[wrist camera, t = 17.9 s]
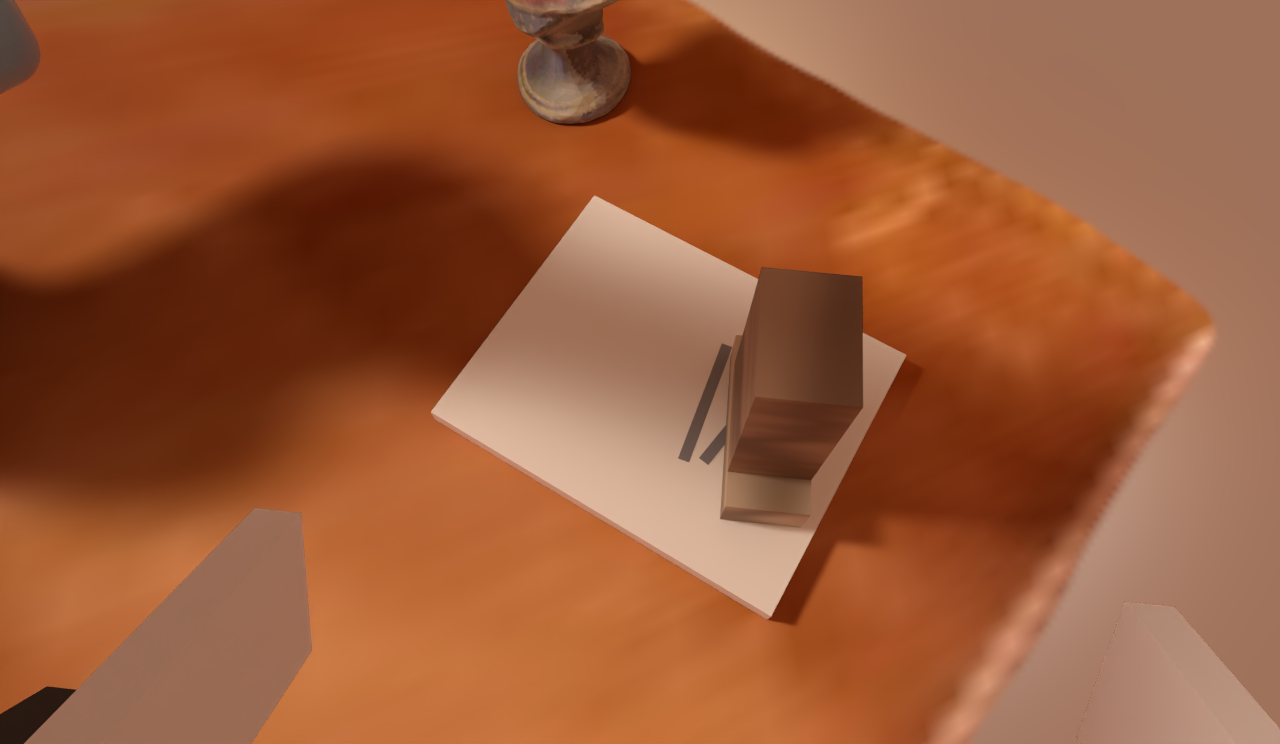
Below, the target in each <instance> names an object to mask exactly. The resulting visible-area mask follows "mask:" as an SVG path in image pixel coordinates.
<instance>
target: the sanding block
mask: <svg viewBox="0 0 1280 744" xmlns="http://www.w3.org/2000/svg"><path fill="white" fill-rule="evenodd" d="M862 408H863V298H862V277H860V276H850V275H839V274H829V273H818V272H808V271H797V270H786V269H776V268H765V267H762V268H761V272H760V275H759V279H758V282H757V286H756V289H755V293H754V296H753V300H752V303H751V307H750V311H749V314H748V318H747V321H746V325H745V328H744V332H743V335H742V336H741V335H736V337H735V341H734V344H733V348H732V352H731V356H730V372H729V387H728V402H727V418H726V433H725V449H724V464H723V479H722V495H721V510H720V519H724V520H734V521H743V522H753V523H762V524H772V525H782V526H791V527H801V526H802V525H803V524H804V523H805V521H806V520H807V519H808V518H809V517H810V515H811V480H812V479H813V477H814V476H815V474H816V473H817V472H818V470H819V469H820V467H821V466H822V465H823V463H824V462H825V460H826V459H827V458H828V456H829V455H830V453H831V452H832V451H833V449H834V448H835V446H836V445H837V443H838V442H839V441H840V439H841V438H842V436H843V435H844V434H845V432H846V431H847V429H848V428H849V427H850V425H851V424H852V422H853V421H854V420H855V418H856V417H857V415H858V414H859V413H860V411H861V410H862Z"/></svg>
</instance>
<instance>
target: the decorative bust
mask: <svg viewBox="0 0 1280 744" xmlns="http://www.w3.org/2000/svg"><path fill="white" fill-rule="evenodd" d="M505 1H506V4H507V7H508V10H509V13H510V16H511V17H512V19H513V21H514V23H515V25H516V27H517V28H518V29H519V30H521V31H522V32H524V33H525V34H528V35H530V36H532V37H536V38H537V40H535V41H534V42H533V43H531V44H530V46H529V47H528V48H527V49H526V50H525V52H524V53H523V54H522V56H521V58H520V61H519V65H518V70H517V81H518V86H519V90H520V93H521V95H522V97H523V100H524V101H525V102H526V104H527V105H528V106H529V107H530V109H531V110H532V111H533V112H534V113H535V114H537V115H538V116H540V117H542V118H544V119H546V120H548V121H551V122H553V123H569V124H572V123H585V122H589V121H591V120H594V119H596V118H599V117H602V116H604V115H606V114H608V113H609V112H610V111H611V110H612V109H613V108H614V107H615V106H616V105H617V104H618V103H619V102H620V101H621V99H622V98H623V96H624V95H625V93H626V91H627V88H628V85H629V82H630V77H631V69H630V61H629V57H628V55H627V53H626V52H625V51H624V49H623V48H622V47H621V45H620V44H619V43H617V42H616V41H614V40H613V39H611V38H609V37H607V36H604V35H601V34H602V33H603V31H604V24H603V20H602V18H603V8H605V7H607V6H610V5H611V4H613V3H615V2H617V1H618V0H505Z"/></svg>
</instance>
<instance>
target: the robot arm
mask: <svg viewBox="0 0 1280 744" xmlns="http://www.w3.org/2000/svg"><path fill="white" fill-rule="evenodd" d="M39 62H40V48H39V45H38V42H37V39H36V37H35V35H34V33H33V32H32V30H31V28H30V26H29V24H28V23H27V21H26V19H25V18H24V16H23V14H22V13H21V11H20V9H19V8H18V6H17V4H16V3H15V1H14V0H0V94H2V93H4V92H6V91H7V90H9V89H11V88H13V87H15V86H17V85H19V84H21V83H23V82H25V81H26V80H28V79H29V78H30V77H31V76H32V75H33V74H34V73H35V71H36V70H37V68H38V65H39ZM311 651H312V644H311V631H310V618H309V605H308V592H307V579H306V567H305V554H304V541H303V528H302V515H301V513H298V512H289V511H279V510H270V509H261V508H254V509H253V510H252V511H251V512H250V513H249V514H248V515H247V516H246V517H245V518H244V519H243V521H242V522H241V523H240V524H239V525H238V526H237V527H236V528H235V529H234V530H233V531H232V532H231V533H230V534H229V535H228V536H227V537H226V538H225V539H224V540H223V541H222V542H221V543H220V544H219V545H218V546H217V547H216V548H215V549H214V550H213V551H212V552H211V553H210V554H209V555H208V556H207V557H206V558H205V559H204V560H203V561H202V562H201V563H200V564H199V565H198V566H197V567H196V568H195V570H194V571H193V572H192V573H191V574H190V575H189V576H188V577H187V578H186V579H185V580H184V581H183V582H182V583H181V584H180V585H179V586H178V587H177V588H176V589H175V590H174V591H173V592H172V593H171V594H170V595H169V596H168V597H167V598H166V599H165V600H164V601H163V602H162V603H161V604H160V605H159V606H158V607H157V608H156V609H155V610H154V611H153V612H152V613H151V614H150V615H149V616H148V618H147V619H146V620H145V621H144V622H143V623H142V624H141V625H140V626H139V627H138V628H137V629H136V630H135V631H134V632H133V633H132V634H131V635H130V636H129V637H128V638H127V639H126V640H125V641H124V642H123V643H122V644H121V645H120V646H119V647H118V648H117V649H116V650H115V651H114V652H113V653H112V654H111V655H110V656H109V657H108V658H107V659H106V660H105V661H104V662H103V663H102V664H101V666H100V667H99V668H98V669H97V670H96V671H95V672H94V673H93V674H92V675H91V676H90V677H89V678H88V679H87V680H86V681H85V682H84V683H83V684H82V685H81V686H80V687H79V688H78V689H77V690H73V689H65V688H56V687H45V688H44V689H42V690H40V691H39V692H37V693H35V694H34V695H32V696H30V697H28V698H27V699H25V700H23V701H22V702H20V703H18V704H17V705H15V706H13V707H12V708H10V709H8V710H7V711H5V712H3V713H2V714H0V744H252V742H253V741H254V739H255V738H256V736H257V734H258V733H259V731H260V730H261V728H262V727H263V725H264V724H265V722H266V721H267V719H268V718H269V716H270V714H271V713H272V711H273V710H274V708H275V707H276V705H277V704H278V702H279V701H280V699H281V697H282V696H283V694H284V693H285V691H286V690H287V688H288V687H289V685H290V684H291V682H292V681H293V679H294V677H295V676H296V674H297V673H298V671H299V670H300V668H301V667H302V665H303V664H304V662H305V660H306V659H307V657H308V656H309V654H310V653H311ZM1077 738H1078V740H1079V742H1080V744H1280V728H1279V727H1278V726H1277V725H1276V724H1275V722H1274V721H1273V720H1272V719H1271V718H1270V717H1269V715H1268V714H1267V713H1266V712H1265V711H1264V710H1263V709H1262V707H1261V706H1260V705H1259V704H1258V703H1257V701H1256V700H1255V699H1254V698H1253V697H1252V696H1251V695H1250V694H1249V692H1248V691H1247V690H1246V689H1245V688H1244V686H1243V685H1242V684H1241V683H1240V682H1239V681H1238V680H1237V678H1236V677H1235V676H1234V675H1233V674H1232V673H1231V671H1230V670H1229V669H1228V668H1227V667H1226V666H1225V665H1224V663H1223V662H1222V661H1221V660H1220V659H1219V658H1218V656H1217V655H1216V654H1215V653H1214V652H1213V651H1212V649H1211V648H1210V647H1209V646H1208V645H1207V644H1206V643H1205V641H1204V640H1203V639H1202V638H1201V637H1200V636H1199V634H1198V633H1197V632H1196V631H1195V630H1194V629H1193V628H1192V626H1191V625H1190V624H1189V623H1188V622H1187V620H1186V619H1185V618H1184V617H1183V616H1182V615H1181V614H1180V613H1179V611H1178V610H1177V609H1176V608H1175V607H1173V606H1164V605H1155V604H1146V603H1136V602H1127V601H1125V602H1124V605H1123V608H1122V611H1121V613H1120V616H1119V619H1118V622H1117V624H1116V627H1115V630H1114V633H1113V636H1112V639H1111V641H1110V644H1109V647H1108V650H1107V653H1106V655H1105V658H1104V661H1103V664H1102V667H1101V670H1100V672H1099V675H1098V678H1097V681H1096V684H1095V686H1094V689H1093V692H1092V695H1091V697H1090V700H1089V703H1088V706H1087V709H1086V712H1085V714H1084V717H1083V720H1082V723H1081V725H1080V728H1079V731H1078V734H1077Z"/></svg>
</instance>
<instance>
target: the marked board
mask: <svg viewBox="0 0 1280 744" xmlns="http://www.w3.org/2000/svg"><path fill="white" fill-rule="evenodd" d="M757 282H758V279H757V278H755V277H753V276H751V275H749V274H747V273H745V272H743V271H741V270H739V269H737V268H735V267H733V266H731V265H729V264H727V263H725V262H724V261H722V260H720V259H718V258H716V257H714V256H712V255H710V254H708V253H706V252H704V251H702V250H700V249H698V248H696V247H694V246H692V245H690V244H688V243H686V242H684V241H682V240H680V239H679V238H677V237H675V236H673V235H671V234H669V233H667V232H665V231H663V230H661V229H659V228H657V227H655V226H653V225H651V224H649V223H647V222H645V221H643V220H641V219H639V218H637V217H635V216H634V215H632V214H630V213H628V212H626V211H624V210H622V209H620V208H618V207H616V206H614V205H612V204H610V203H608V202H606V201H604V200H602V199H600V198H598V197H596V196H594V197H593V198H592V199H591V201H590V202H589V203H588V205H587V206H586V207H585V209H584V210H583V211H582V213H581V214H580V215H579V217H578V218H577V219H576V221H575V222H574V223H573V224H572V226H571V227H570V228H569V230H568V231H567V232H566V234H565V235H564V236H563V238H562V239H561V240H560V242H559V243H558V244H557V246H556V247H555V248H554V250H553V251H552V252H551V254H550V255H549V256H548V258H547V259H546V260H545V262H544V263H543V264H542V266H541V267H540V268H539V269H538V271H537V272H536V273H535V275H534V276H533V277H532V279H531V280H530V281H529V283H528V284H527V285H526V287H525V288H524V289H523V291H522V292H521V293H520V295H519V296H518V297H517V299H516V300H515V301H514V303H513V304H512V305H511V307H510V308H509V309H508V311H507V312H506V313H505V314H504V316H503V317H502V318H501V320H500V321H499V322H498V324H497V325H496V326H495V328H494V329H493V330H492V332H491V333H490V334H489V336H488V337H487V338H486V340H485V341H484V342H483V344H482V345H481V346H480V348H479V349H478V350H477V352H476V353H475V354H474V356H473V357H472V358H471V359H470V361H469V362H468V363H467V365H466V366H465V367H464V369H463V370H462V371H461V373H460V374H459V375H458V377H457V378H456V379H455V381H454V382H453V383H452V385H451V386H450V387H449V389H448V390H447V391H446V393H445V394H444V395H443V397H442V398H441V399H440V401H439V402H438V403H437V404H436V406H435V407H434V408H433V410H432V411H431V413H432V415H433V417H434V418H435V420H436V421H438V422H440V423H441V424H443V425H445V426H446V427H448V428H450V429H451V430H453V431H455V432H456V433H458V434H460V435H461V436H463V437H465V438H466V439H468V440H470V441H471V442H473V443H474V444H476V445H478V446H479V447H481V448H483V449H484V450H486V451H488V452H489V453H491V454H493V455H494V456H496V457H498V458H499V459H501V460H503V461H504V462H506V463H508V464H509V465H511V466H513V467H514V468H516V469H518V470H519V471H521V472H523V473H524V474H526V475H528V476H529V477H531V478H533V479H534V480H536V481H538V482H539V483H541V484H543V485H544V486H546V487H548V488H549V489H551V490H553V491H554V492H556V493H558V494H559V495H561V496H563V497H564V498H566V499H567V500H569V501H571V502H572V503H574V504H576V505H577V506H579V507H581V508H582V509H584V510H586V511H587V512H589V513H591V514H592V515H594V516H596V517H597V518H599V519H601V520H602V521H604V522H606V523H607V524H609V525H611V526H612V527H614V528H616V529H617V530H619V531H621V532H622V533H624V534H626V535H627V536H629V537H631V538H632V539H634V540H636V541H637V542H639V543H641V544H642V545H644V546H646V547H647V548H649V549H651V550H652V551H654V552H656V553H657V554H659V555H660V556H662V557H664V558H665V559H667V560H669V561H670V562H672V563H674V564H675V565H677V566H679V567H680V568H682V569H684V570H685V571H687V572H689V573H690V574H692V575H694V576H695V577H697V578H699V579H700V580H702V581H704V582H705V583H707V584H709V585H710V586H712V587H714V588H715V589H717V590H719V591H720V592H722V593H724V594H725V595H727V596H729V597H730V598H732V599H734V600H735V601H737V602H739V603H740V604H742V605H744V606H745V607H747V608H749V609H750V610H752V611H753V612H755V613H757V614H758V615H760V616H762V617H763V618H765V619H767V620H768V619H769V618H770V617H771V616H772V614H773V612H774V610H775V608H776V606H777V604H778V602H779V600H780V599H781V597H782V595H783V593H784V591H785V589H786V587H787V585H788V583H789V581H790V579H791V577H792V575H793V573H794V572H795V570H796V568H797V566H798V564H799V562H800V560H801V558H802V556H803V554H804V552H805V550H806V548H807V546H808V544H809V543H810V541H811V539H812V537H813V535H814V533H815V531H816V529H817V527H818V525H819V523H820V521H821V519H822V517H823V515H824V514H825V512H826V510H827V508H828V506H829V504H830V502H831V500H832V498H833V496H834V494H835V492H836V490H837V488H838V487H839V485H840V483H841V481H842V479H843V477H844V475H845V473H846V471H847V469H848V467H849V465H850V463H851V461H852V459H853V458H854V456H855V454H856V452H857V450H858V448H859V446H860V444H861V442H862V440H863V438H864V436H865V434H866V432H867V430H868V429H869V427H870V425H871V423H872V421H873V419H874V417H875V415H876V413H877V411H878V409H879V407H880V405H881V403H882V401H883V400H884V398H885V396H886V394H887V392H888V390H889V388H890V386H891V384H892V382H893V380H894V378H895V376H896V374H897V373H898V371H899V369H900V367H901V365H902V363H903V361H904V359H905V357H906V354H904V353H902V352H900V351H898V350H896V349H894V348H892V347H890V346H888V345H886V344H884V343H882V342H880V341H878V340H876V339H874V338H872V337H870V336H868V335H866V334H864V333H863V408H862V410H861V411H860V413H859V414H858V415H857V417H856V418H855V420H854V421H853V422H852V424H851V425H850V427H849V428H848V429H847V431H846V432H845V434H844V435H843V436H842V438H841V439H840V441H839V442H838V443H837V445H836V446H835V448H834V449H833V451H832V452H831V453H830V455H829V456H828V458H827V459H826V460H825V462H824V463H823V465H822V466H821V467H820V469H819V470H818V472H817V473H816V474H815V476H814V477H813V479H812V480H811V515H810V517H809V518H808V519H807V520H806V521H805V523H804V524H803V525H802V526H801V527H791V526H782V525H772V524H762V523H753V522H743V521H734V520H724V519H720V510H721V495H722V479H723V464H724V449H725V433H726V418H727V402H728V387H729V372H730V356H731V352H732V348H733V344H734V341H735V337H736V335H741V336H742V335H743V332H744V328H745V325H746V321H747V318H748V314H749V311H750V307H751V303H752V300H753V296H754V293H755V289H756V286H757Z"/></svg>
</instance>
